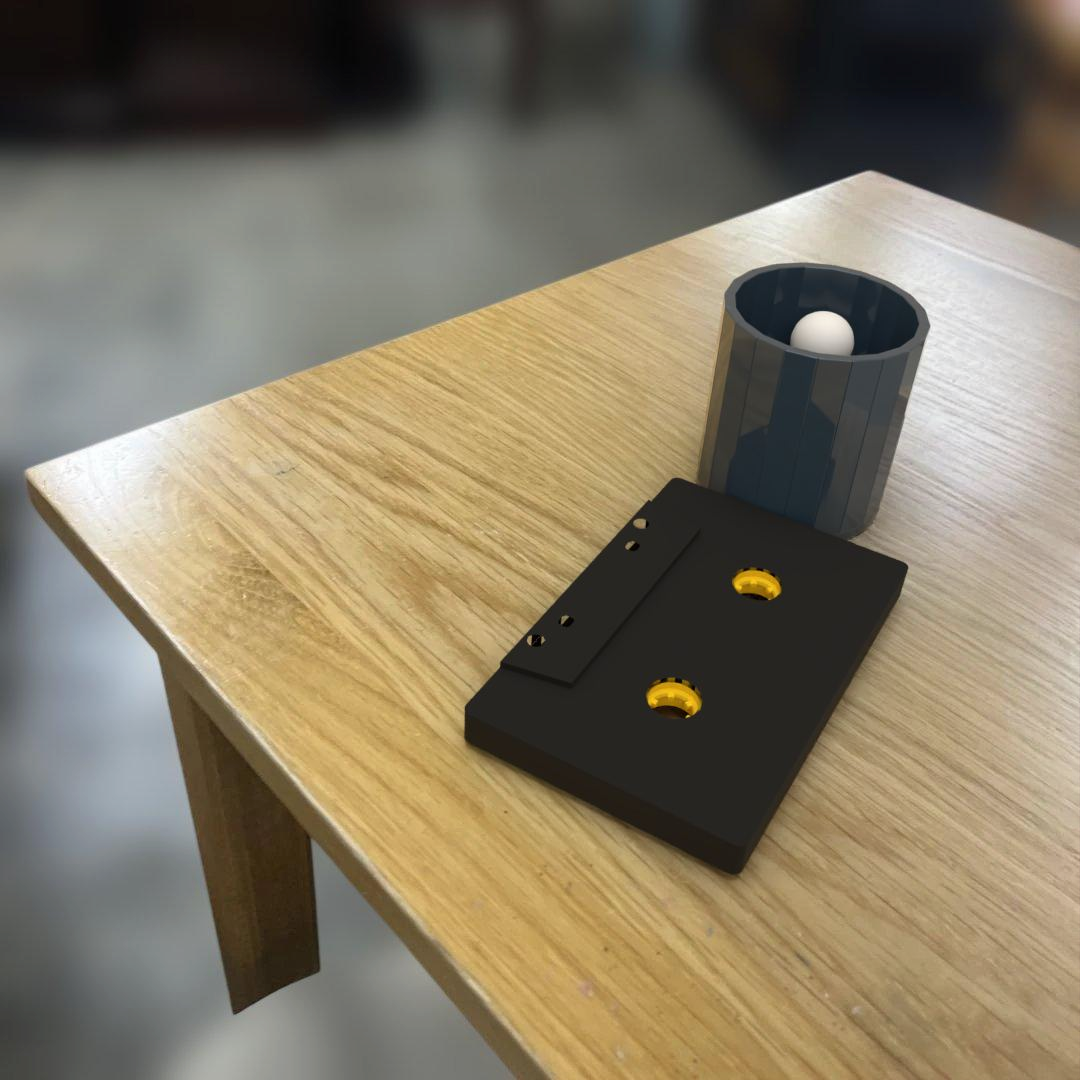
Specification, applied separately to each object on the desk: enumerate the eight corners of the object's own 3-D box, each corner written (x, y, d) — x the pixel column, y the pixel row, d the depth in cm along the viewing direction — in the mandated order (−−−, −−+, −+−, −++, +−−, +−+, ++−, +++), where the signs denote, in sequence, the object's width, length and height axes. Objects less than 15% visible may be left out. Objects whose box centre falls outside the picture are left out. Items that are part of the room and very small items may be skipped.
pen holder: (761, 417, 66) (794, 244, 59) (912, 489, 61) (965, 310, 55) (659, 488, 60) (684, 306, 54) (817, 572, 56) (864, 384, 49)
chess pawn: (725, 487, 60) (754, 322, 54) (763, 438, 63) (794, 279, 57) (823, 522, 58) (864, 355, 52) (857, 470, 61) (899, 308, 55)
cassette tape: (669, 507, 59) (675, 470, 58) (900, 596, 55) (912, 559, 53) (460, 743, 47) (460, 704, 45) (736, 883, 42) (746, 844, 41)
